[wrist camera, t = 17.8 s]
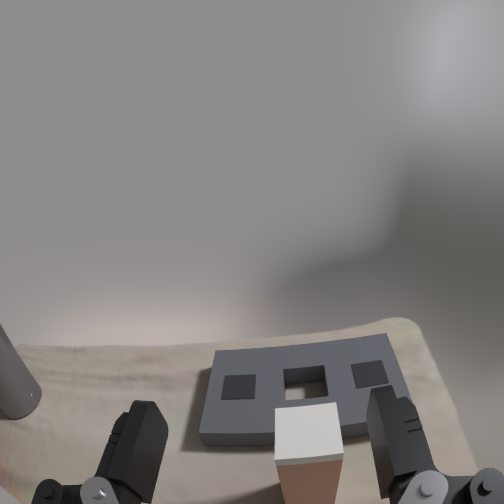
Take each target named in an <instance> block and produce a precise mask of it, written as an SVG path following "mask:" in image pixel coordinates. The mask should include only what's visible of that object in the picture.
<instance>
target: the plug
mask: <svg viewBox="0 0 504 504" xmlns="http://www.w3.org/2000/svg"><path fill="white" fill-rule="evenodd" d="M343 455H344V451H343V444H342V437H341V430H340V424H339V417H338V411H337V405H336V402H334V403H326V404H318V405H309V406H299V407H288V408H275V463H276V467H277V472H278V476H279V480H280V484H281V488H282V492H283V497H284V501H285V504H334V503H335V498H336V493H337V488H338V483H339V478H340V472H341V467H342V461H343Z"/></svg>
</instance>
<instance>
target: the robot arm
mask: <svg viewBox="0 0 504 504" xmlns="http://www.w3.org/2000/svg"><path fill="white" fill-rule="evenodd" d="M40 398H41V388H40V386H39V385H38V383H37V382H36V380H35V379H34V377H33V376H32V375H31V373H30V372H29V370H28V368H27V367H26V365H25V364H24V362H23V361H22V359H21V358H20V356H19V355H18V353H17V351H16V350H15V348H14V346H13V345H12V343H11V341H10V340H9V338H8V336H7V335H6V333H5V331H4V330H3V328H2V326H1V324H0V410H1V411H2V412H3V413H4V414H5V415H6V416H7V417H8V418H11V419H18V418H22V417H24V416H26V415H28V414H29V413H30V412H32V411H33V409H34V408H35V407H36V406H37V404H38V403H39V401H40ZM366 418H367V427H368V431H369V436H370V441H371V446H372V451H373V456H374V462H375V467H376V472H377V478H378V484H379V490H380V496H381V499H384V498H389V499H390V504H504V476H503V474H502V473H501V472H500V471H498V470H497V469H494V468H485V469H483V470H481V471H479V472H478V473H477V474H476V475H475V476H456V477H453V476H447V475H444V474H442V473H441V472H439V471H438V470H437V468H436V467H435V465H434V463H433V460H432V457H431V453H430V450H429V447H428V443H427V440H426V437H425V434H424V431H423V430H422V425H421V422H420V420H419V416H418V413H417V410H416V407H415V405H414V404H413V403H412V402H411V401H410V400H409V399H408V398H407V397H406V396H405V397H401V398H396V395H395V391H394V389H393V387H392V385H388V386H382V387H377V388H372V389H371V391H370V396H369V402H368V407H367V414H366ZM111 433H112V434H110V437H109V440H108V443H107V445H106V448H105V450H104V453H103V456H102V458H101V461H100V464H99V466H98V469H97V472H96V474H95V476H94V477H92V478H89V479H88V480H86V481H85V482H84V483H83V484H81V485H61V484H60V483H58V482H57V481H56V480H53V479H46V480H44V481H42V482H41V483H40V484H39V485H38V486H37V488H36V491H35V494H34V497H33V500H32V503H31V504H141V502H143V503H148V504H151V502H152V497H153V493H154V489H155V485H156V481H157V477H158V473H159V469H160V465H161V461H162V457H163V453H164V449H165V445H166V441H167V438H168V425H167V422H166V420H165V419H164V417H163V415H162V414H161V412H160V410H159V409H158V407H157V405H156V404H155V402H153V401H140V400H135V401H134V402H133V403H132V405H131V408H130V411H129V413H128V412H123V414H122V415H121V416H120V417H119V418H118V419H117V420H116V421H115V424H114V427H113V429H112V432H111Z"/></svg>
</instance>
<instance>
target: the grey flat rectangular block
mask: <svg viewBox="0 0 504 504" xmlns="http://www.w3.org/2000/svg"><path fill="white" fill-rule="evenodd" d="M321 380H324V382H325V389H326V397H318V398H309V399H298V400H287V401H285V384H292V383H302V382H312V381H321ZM388 385H392V387H393V389H394V391H395V395H396V398H401V397H405V396H406V397H407V398H408V399H409V400H410V401H411V402H412V400H411V397H410V394H409V391H408V389H407V386H406V383H405V380H404V378H403V375H402V372H401V370H400V367H399V364H398V362H397V359H396V357H395V354H394V351H393V349H392V346H391V344H390V341H389V339H388V336H387V334H386V333H384V334H378V335H371V336H364V337H358V338H350V339H343V340H335V341H327V342H319V343H310V344H300V345H290V346H279V347H267V348H254V349H239V350H221V351H215V356H214V360H213V365H212V370H211V375H210V379H209V384H208V389H207V394H206V399H205V404H204V409H203V413H202V418H201V423H200V428H199V435H200V436H201V438H202V440H203V442H204V444H205V445H207V446H263V445H275V408H288V407H299V406H309V405H318V404H326V403H334V402H336V405H337V411H338V417H339V424H340V430H341V437H342V438H349V437H356V436H362V435H368V434H369V431H368V427H367V418H366V414H367V407H368V402H369V396H370V391H371V389H372V388H377V387H382V386H388Z"/></svg>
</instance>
